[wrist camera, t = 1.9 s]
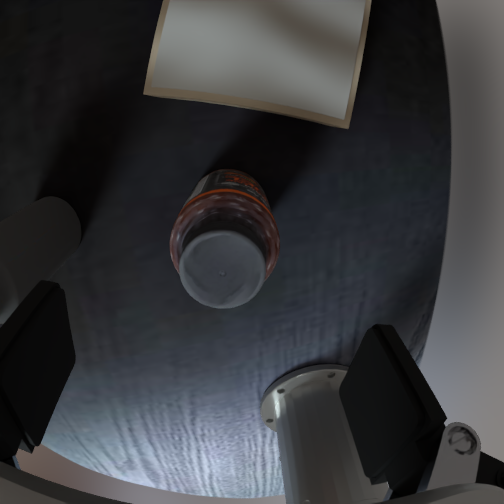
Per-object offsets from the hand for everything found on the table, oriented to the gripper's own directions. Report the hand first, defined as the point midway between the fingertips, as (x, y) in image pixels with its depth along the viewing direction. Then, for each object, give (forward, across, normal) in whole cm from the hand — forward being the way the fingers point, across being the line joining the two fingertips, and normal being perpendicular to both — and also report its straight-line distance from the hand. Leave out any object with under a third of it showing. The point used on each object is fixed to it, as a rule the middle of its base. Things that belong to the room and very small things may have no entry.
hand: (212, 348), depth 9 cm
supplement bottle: (+17, 0, +1) cm, 17 cm away
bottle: (+17, +14, +5) cm, 23 cm away
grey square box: (+17, 0, -13) cm, 22 cm away
